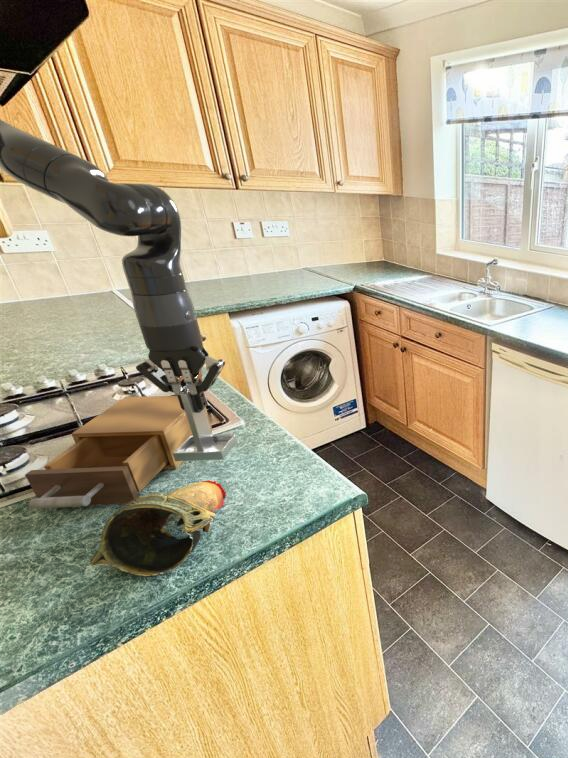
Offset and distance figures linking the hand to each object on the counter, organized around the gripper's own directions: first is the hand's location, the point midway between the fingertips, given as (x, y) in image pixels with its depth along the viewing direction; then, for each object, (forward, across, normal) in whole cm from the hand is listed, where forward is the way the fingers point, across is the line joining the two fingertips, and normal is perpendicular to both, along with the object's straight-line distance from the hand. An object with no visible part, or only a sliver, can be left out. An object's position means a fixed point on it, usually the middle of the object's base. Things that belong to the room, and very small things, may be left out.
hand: (195, 410), depth 76 cm
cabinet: (+13, +14, -8) cm, 21 cm away
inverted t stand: (+9, 0, 0) cm, 9 cm away
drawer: (+12, +14, +6) cm, 19 cm away
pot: (+13, -4, +20) cm, 24 cm away
